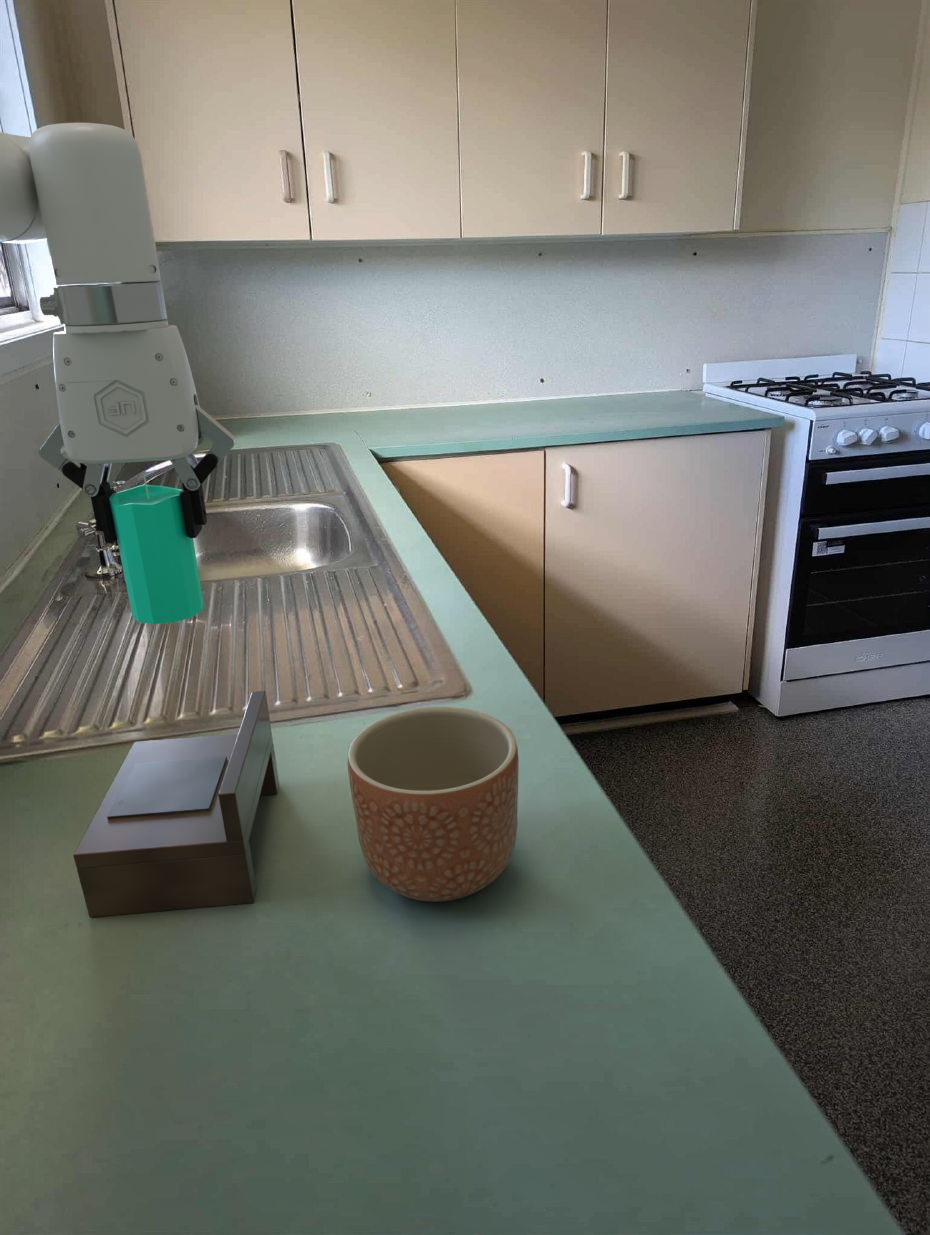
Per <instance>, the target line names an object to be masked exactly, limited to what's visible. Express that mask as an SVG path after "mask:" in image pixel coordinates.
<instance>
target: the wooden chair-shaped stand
mask: <svg viewBox="0 0 930 1235" xmlns="http://www.w3.org/2000/svg"><path fill="white" fill-rule="evenodd" d="M270 718H271V717H270V712H269V706H268V700H267V692H266V690H259V691H258V690H257V691H251V693H250V697H249V699H248V703H247V706H246V710H245V712H244V715H243V718H242V721H241V724H240V727H239V730H238V733H230V734H219V735H204V736H191V737H179V738H168V739H167V738H166V739H155V740H154V739H153V740H142V741H140V740H139V741H134V742H133V743H132V746H131V747H130V749H129V751H128V753H127V754H126V757H125V758H124V760H123V762H122V764H121V765H120V767H119V770H118V771H117V773H116V774H115V777H114V779H113V780H112V782H111V784H110V786H109V788H108V790H107V792H106V793H105V796H104V797H103V799H102V801H101V803H100V804H99V806H98V808H97V810H96V812H95V814H94V815H93V817H92V819H91V821H90V823H89V825H88V826H87V829H86V830H85V832H84V835H83V836H82V838H81V840H80V841H79V843H78V845H77V847H76V849H75V851H74V853H73V854H72V856H73V861H74V864H75V868H76V871H77V875H78V879H79V882H80V887H81V891H82V894H83V898H84V902H85V906H86V909H87V914H88V917H89V918H98V917H109V916H119V915H131V914H141V913H142V914H143V913H153V912H154V913H155V912H164V911H176V910H187V909H198V908H199V909H200V908H209V907H210V908H211V907H219V906H232V905H242V904H254V902H255V899H256V894H257V890H258V889H257V882H256V876H255V871H254V865H253V864H254V863H253V858H252V852H251V846H250V842H249V841H250V837H251V833H252V830H253V829H252V828H253V826H254V825H253V824H254V820H255V816H256V813H257V810H258V805H259V800H260V796H272V795H278V793H279V789H280V788H279V787H280V780H279V773H278V766H277V760H276V751H275V746H274V738H273V732H272V725H271V720H270Z"/></svg>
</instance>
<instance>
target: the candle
mask: <svg viewBox="0 0 930 1235" xmlns="http://www.w3.org/2000/svg"><path fill="white" fill-rule="evenodd" d="M142 477H143V481H144V484H140V485H137V486H134V487H130V488H127V489H124V490H120V491H116V493H113V494H112V496H111V497H110V498H109V501H110V506H111V511H112V516H113V521H114V526H115V531H116V536H117V541H116V542H117V545H118V550H119V555H120V561H121V566H122V570H123V571H122V572H123V577H124V581H125V586H126V587H125V588H126V591H127V596H128V601H129V606H130V611H131V617H132V618H133V619H134V620H135V621H136V622H138V623H139V624H148V625H162V624H174V623H177V622H181V621H184V620H188V619H191V618H193V617H195V616H196V615H198V614H200V613H201V612H203V609H204V606H205V602H204V596H203V589H202V584H201V578H200V572H199V567H198V566H199V565H198V560H197V553H196V548H195V542H194V538H189V537H187V536H186V530H185V524H184V518H183V512H182V506H181V500H180V492H181V491H182V490H183V488H182V489H181V488H177V487H176V488H175V487H172V486H171V487H170V486H164V485H155V484H148V483H147V478H146V477H147V476H146V475H145V474H143V475H142Z"/></svg>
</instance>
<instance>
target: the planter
mask: <svg viewBox="0 0 930 1235" xmlns="http://www.w3.org/2000/svg"><path fill="white" fill-rule="evenodd" d="M519 761H520V760H519V748H518V744H517V739H516V736H515V735H514V733H513V731H512V730H511V729H510V728H509V727H508V726H507V725H506V724H505V723H504V722H502V721H501V720H500V719H497V718H495V717H494V716H492V715H489V714H488V713H485V712H481V711H477V710H474V709H469V708H464V707H455V706H427V707H420V708H413V709H408V710H403V711H400V712H397V713H393V714H391V715H387V716H385V717H383V718H381V719H378V720H376V721H374V722H373V723H370V724H369V725H368V726H366V727H365V728H364V729H362V730H361V731H360V732H359V733H358V734H357V735H356V736H355V737H354V739H353V740H352V741H351V744H350V746H349V748H348V752H347V773H348V780H349V788H350V793H351V800H352V806H353V811H354V812H353V813H354V818H355V824H356V830H357V831H356V832H357V838H358V842H359V847H360V849H361V853H362V857H363V859H364V862H365V863H366V865H367V868H368V869H369V871H370V872H371V873H372V875H373V876H374V877H375V878H376V880H377V881H379V882H380V883H381V884H382V885H383V886H385V887H386V888H387V889H389V890H391V891H392V892H394V893H396V894H398V895H401V896H403V897H405V898H408V899H412V900H416V901H422V902H430V903H434V902H435V903H436V902H437V903H438V902H450V901H456V900H459V899H462V898H465V897H469V896H470V895H471V896H472V895H473V894H475V893H477V892H479V891H481V890H483V889H484V888H486V887H487V886H488V885H490V884H491V883H492V882H494V881H495V880H497V878H498V877H500V875H501V874H502V873H503V871H505V869H506V867H507V865H508V864H509V862H510V861H511V859H512V856H513V854H514V851H515V847H516V842H517V834H518V811H519V810H518V809H519V808H518V807H519V804H518V803H519V763H520V762H519Z"/></svg>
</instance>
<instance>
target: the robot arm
mask: <svg viewBox="0 0 930 1235" xmlns="http://www.w3.org/2000/svg"><path fill="white" fill-rule="evenodd" d="M147 189H148V188H147V183H146V177H145V170H144V165H143V160H142V155H141V150H140V146H139V144H138V143H137V140H136V139H135V137H134V136H133V135H132V134H131V133H130V132H129V131H127V130H126V129H125V128H122V127H119V126H116V125H112V124H104V123H95V122H61V123H53V124H47V125H43V126H41V127H39V128H36V130H34V131H33V132H32V134H31V135H30V136H25V135H17V134H12V133H8V132H3V131H0V243H2V244H3V243H4V244H27V243H34V242H40V241H46V244H47V245H46V246H47V249H48V255H49V260H50V264H51V269H52V274H53V275H52V276H53V280H54V282H55V283H54V284H55V286H56V287H53V294H50V295H49V296H41V297H40V298H39V307H40V311H41V313H42V314H43V316H53V317H54V318H55V317H56V318H58V320H59V322H60V325H63V328H64V330H63V331H58V332H57V331H56V332H53V339H52V346H53V347H52V349H53V350H52V352H53V356H52V357H53V371H54V372H53V373H54V382H55V394H56V402H57V410H58V419H59V422H58V423H57V425H56V427H55V428H54V429H53V430H52V432H51V433H50V435H49V436H48V437H47V439H46V440H45V441H44V443H43V444H42V445H41V447H40V448H39V450H38V455H39V457H40V458H41V459H42V460H43V461H45V462H46V463H48V464H49V465H50V466H52V467H54V469H56V470H57V471H60V472H61V473H62V475H63V476H64V477H66V478H67V479H68V480H69V481H70V482H72V483H73V484H75V485H76V486H78V487H79V488H80V489H81V490H82V492H83V493H84V495H86V496H87V497H90V502H91V505H92V511H93V516H94V521H95V525H96V529H97V531H98V532H99V533H100V532H101V533H102V534H103V538H104V542H105V544H106V545H109V544H114V543H116V542H118V541H117V536H116V531H115V526H114V521H113V516H112V511H111V506H110V501H109V498H110V497H111V496H112V494H113V493H116V492H117V490H116V489H115V488H114V487H111V483H110V482H109V480H110V476H111V475H110V474H111V470H112V466H113V464H125V463H139V462H140V463H143V462H158V461H170V463H171V465H172V466H173V469H174V470H175V472H176V474H178V477H179V478H180V481H182V484H181V485H182V491H181V492H180V500H181V506H182V512H183V518H184V524H185V530H186V536H187V537H189V538H193V539H196V538H197V537H198V536H199V534H200V533H201V531H202V530H203V526H205V525H207V523H208V514H207V509H206V503H205V502H206V501H205V496H204V490H203V484H204V482H205V481H206V480H207V478H208V477H209V476H210V475H211V473H212V472H214V470H215V469H216V467H217V466H218V465H219V464H220V463H221V462H222V460H223V459H224V458H225V457H226V456H227V455H228V453H230V451H231V450H232V449H233V447H234V446H235V445H236V443H237V438H236V436H235V435H233V434H232V433H231V432H230V431H229V430H227V429H226V428H225V427H224V426H223V425H222V424H221V423H219V422H218V421H217V420H216V419H215V418H214V417H212V416H211V415H210V414H209V413H208V412H207V411H205V410H204V409H203V408H202V407H200V402H199V397H198V393H197V389H196V385H195V380H194V377H193V373H192V369H191V366H190V362H189V358H188V355H187V352H186V348H185V345H184V342H183V339H182V337H181V333H180V331H179V328H178V326H177V325H173V324H171V325H169V320H168V314H167V308H166V302H165V295H164V290H163V284H162V277H161V270H160V264H159V259H158V258H159V257H158V252H157V246H156V240H155V232H154V226H153V221H152V214H151V207H150V203H149V197H148V196H149V195H148V190H147ZM204 437H207V438H208V439H209V440H211V443H212V446H211V448H210V449H209V451H207V453H206V454H205V455H204V456H203V457H202V458H201V459H200V461H198V459H197V457H196V456H195V454H194V452H195V450H196V449H197V447H198V446H200V445H202V443H203V442H204Z"/></svg>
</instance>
